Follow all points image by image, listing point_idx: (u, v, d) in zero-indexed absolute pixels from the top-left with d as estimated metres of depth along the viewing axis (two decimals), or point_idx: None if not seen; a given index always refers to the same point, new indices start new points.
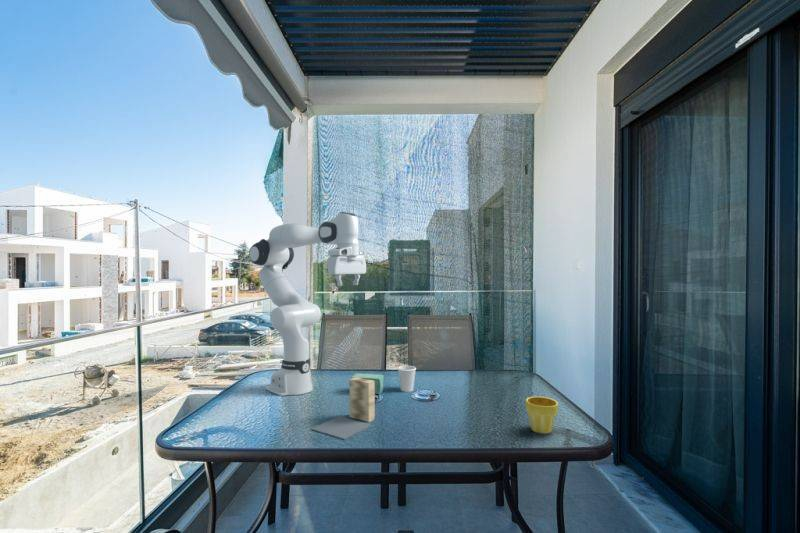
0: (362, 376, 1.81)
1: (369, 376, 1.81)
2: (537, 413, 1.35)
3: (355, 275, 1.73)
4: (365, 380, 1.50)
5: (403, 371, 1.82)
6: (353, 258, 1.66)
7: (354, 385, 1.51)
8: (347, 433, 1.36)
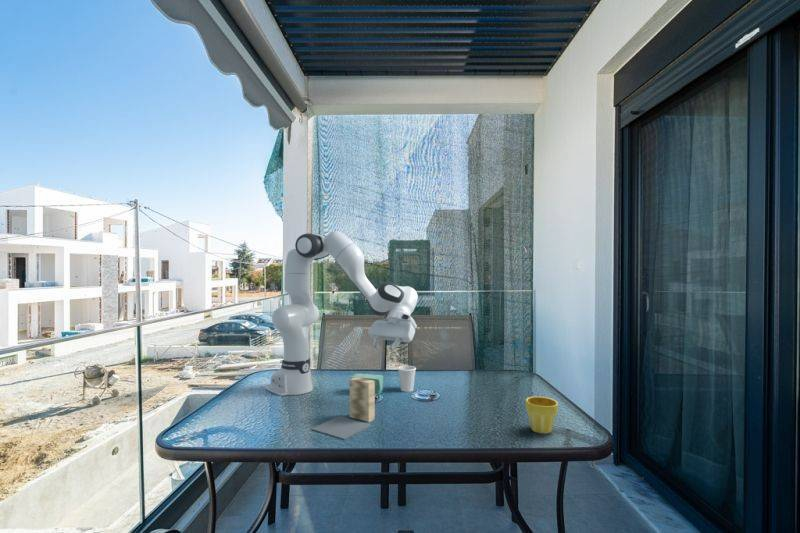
0: (362, 377, 1.80)
1: (368, 376, 1.81)
2: (537, 413, 1.35)
3: (378, 337, 1.67)
4: (365, 380, 1.50)
5: (403, 371, 1.82)
6: None
7: (354, 385, 1.51)
8: (347, 433, 1.36)
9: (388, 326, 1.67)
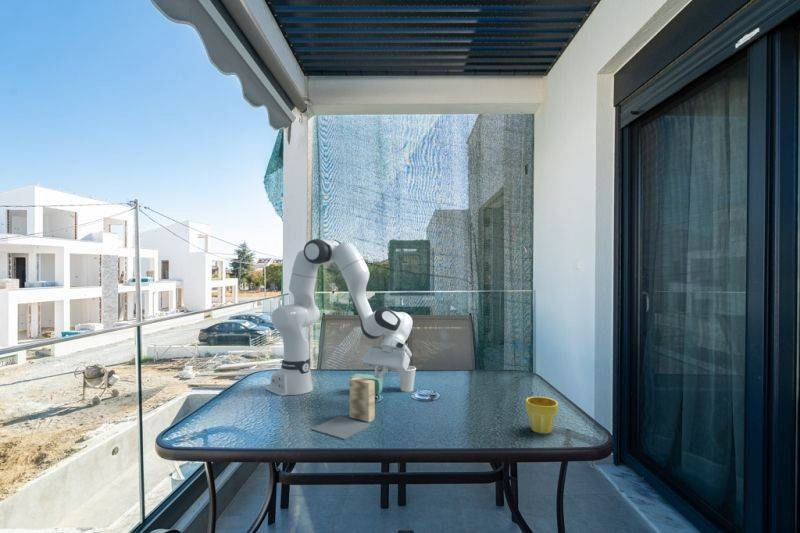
0: (361, 377, 1.80)
1: (368, 377, 1.81)
2: (537, 413, 1.35)
3: (378, 367, 1.61)
4: (365, 380, 1.50)
5: None
6: None
7: (354, 385, 1.51)
8: (347, 433, 1.36)
9: (382, 354, 1.64)
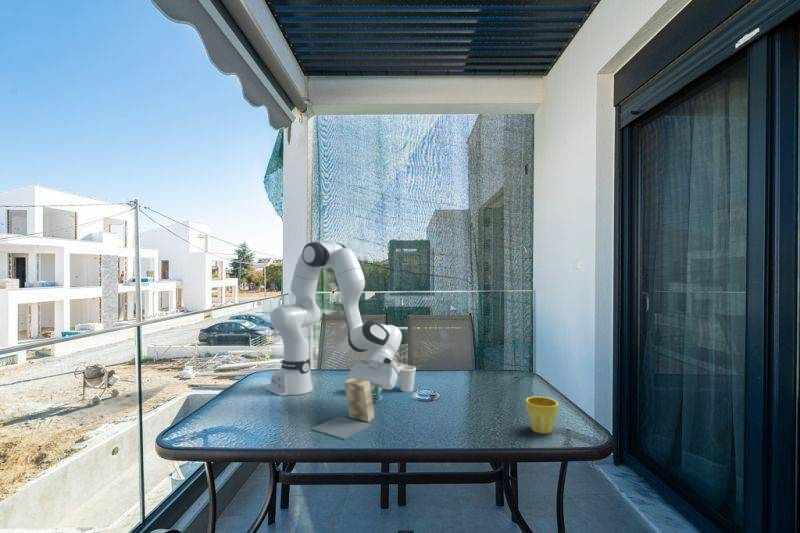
0: None
1: None
2: (537, 413, 1.35)
3: None
4: (360, 382, 1.48)
5: (403, 371, 1.82)
6: None
7: (350, 387, 1.49)
8: (347, 433, 1.36)
9: (369, 370, 1.57)
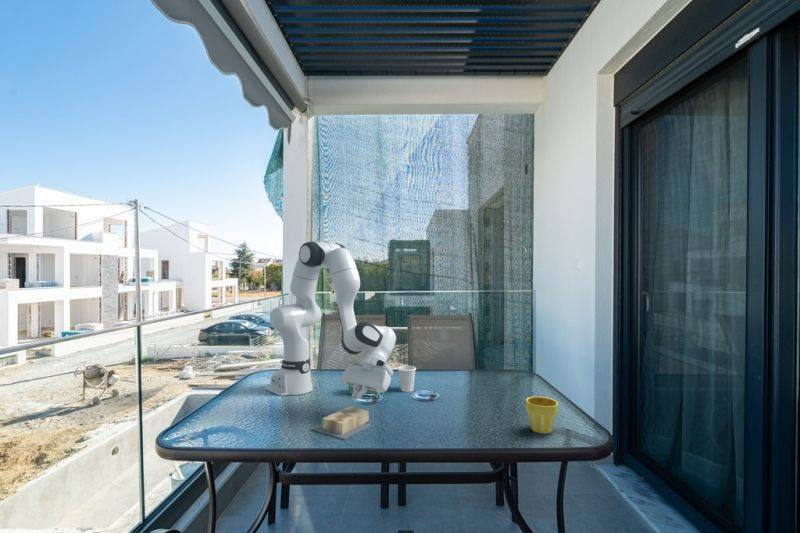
0: None
1: None
2: (537, 413, 1.35)
3: (357, 386, 1.51)
4: (335, 426, 1.37)
5: (403, 371, 1.82)
6: None
7: None
8: (347, 433, 1.36)
9: (362, 372, 1.53)
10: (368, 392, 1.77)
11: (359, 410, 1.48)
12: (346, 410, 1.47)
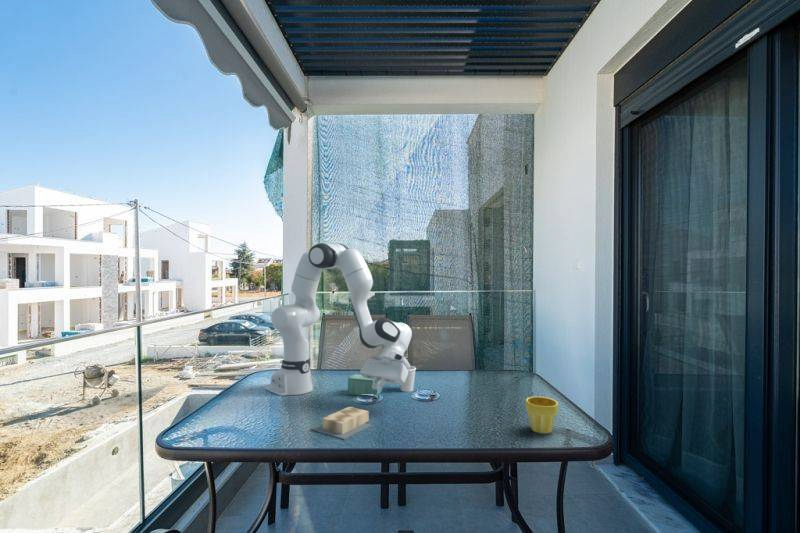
0: (359, 378, 1.79)
1: None
2: (537, 413, 1.35)
3: (376, 379, 1.60)
4: (335, 426, 1.37)
5: None
6: None
7: None
8: (347, 433, 1.36)
9: (381, 366, 1.63)
10: (367, 392, 1.76)
11: (359, 410, 1.48)
12: (346, 410, 1.47)
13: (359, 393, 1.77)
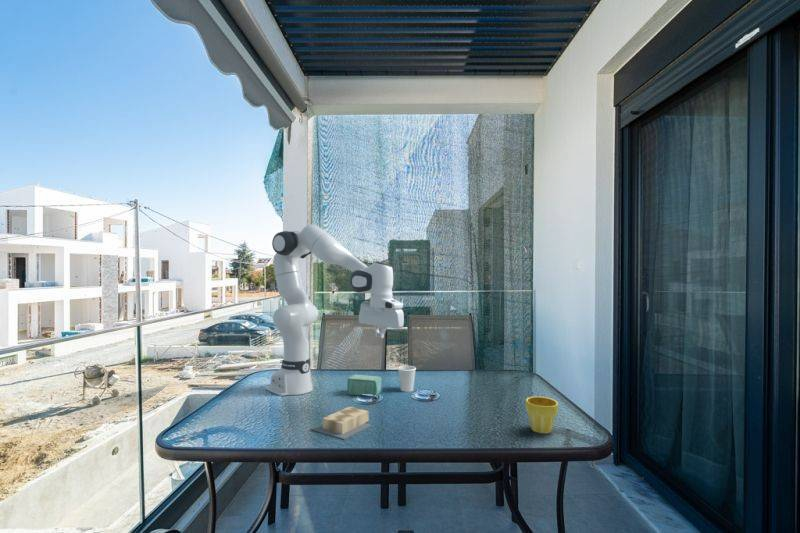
0: (359, 378, 1.78)
1: (366, 378, 1.79)
2: (537, 413, 1.35)
3: (377, 327, 1.64)
4: (335, 426, 1.37)
5: (403, 371, 1.82)
6: None
7: None
8: (347, 433, 1.36)
9: (375, 314, 1.63)
10: (367, 393, 1.76)
11: (359, 410, 1.48)
12: (346, 410, 1.47)
13: (358, 393, 1.77)
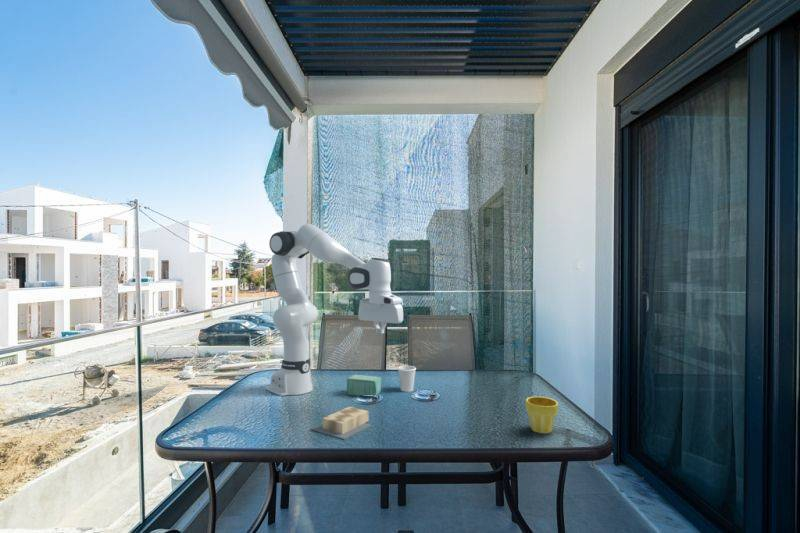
0: (358, 378, 1.78)
1: (365, 378, 1.78)
2: (537, 413, 1.35)
3: (377, 323, 1.64)
4: (335, 426, 1.37)
5: (403, 371, 1.82)
6: None
7: None
8: (347, 433, 1.36)
9: (375, 310, 1.63)
10: (366, 393, 1.75)
11: (359, 410, 1.48)
12: (346, 410, 1.47)
13: (358, 394, 1.77)
